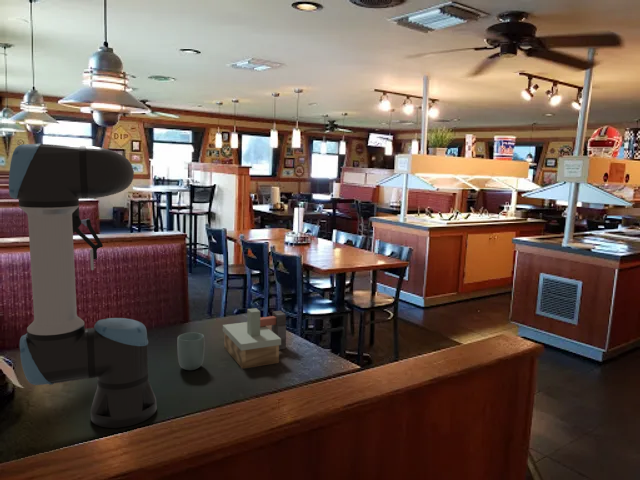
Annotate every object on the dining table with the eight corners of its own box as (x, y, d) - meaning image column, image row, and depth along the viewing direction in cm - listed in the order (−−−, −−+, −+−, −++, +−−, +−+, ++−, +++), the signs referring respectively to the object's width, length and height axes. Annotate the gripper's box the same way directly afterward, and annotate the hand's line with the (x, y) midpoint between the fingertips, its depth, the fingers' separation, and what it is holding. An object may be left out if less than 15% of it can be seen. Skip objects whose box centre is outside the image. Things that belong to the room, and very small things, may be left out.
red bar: (285, 323, 169) (285, 316, 168) (252, 327, 163) (252, 320, 163) (282, 321, 171) (282, 314, 170) (249, 325, 165) (249, 318, 165)
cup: (172, 369, 148) (171, 337, 147) (190, 361, 155) (190, 330, 153) (192, 374, 144) (191, 342, 143) (209, 366, 151) (209, 334, 150)
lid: (281, 349, 154) (281, 314, 153) (241, 355, 148) (241, 318, 147) (258, 330, 173) (258, 298, 171) (222, 334, 167) (222, 302, 165)
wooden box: (298, 359, 158) (299, 323, 157) (242, 368, 150) (242, 330, 148) (276, 340, 176) (276, 308, 174) (224, 347, 167) (224, 313, 166)
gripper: (108, 203, 161) (110, 266, 164) (19, 203, 150) (23, 271, 152) (109, 204, 155) (112, 270, 157) (17, 205, 143) (21, 276, 146)
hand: (68, 271), depth 155 cm, fingers open, 13 cm apart
